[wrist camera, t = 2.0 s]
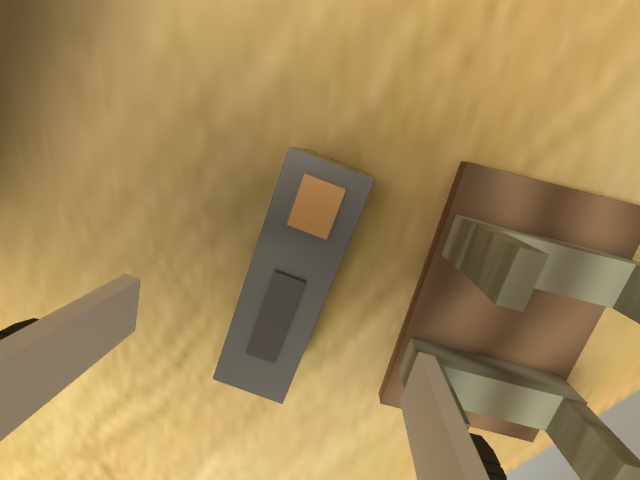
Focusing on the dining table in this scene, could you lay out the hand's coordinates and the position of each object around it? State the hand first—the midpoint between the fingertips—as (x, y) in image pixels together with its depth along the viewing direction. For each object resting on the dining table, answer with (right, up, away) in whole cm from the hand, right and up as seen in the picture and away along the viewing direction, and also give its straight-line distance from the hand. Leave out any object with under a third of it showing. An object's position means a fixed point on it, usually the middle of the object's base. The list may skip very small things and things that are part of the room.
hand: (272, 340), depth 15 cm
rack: (+16, -1, +10) cm, 19 cm away
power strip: (0, +3, +11) cm, 11 cm away
